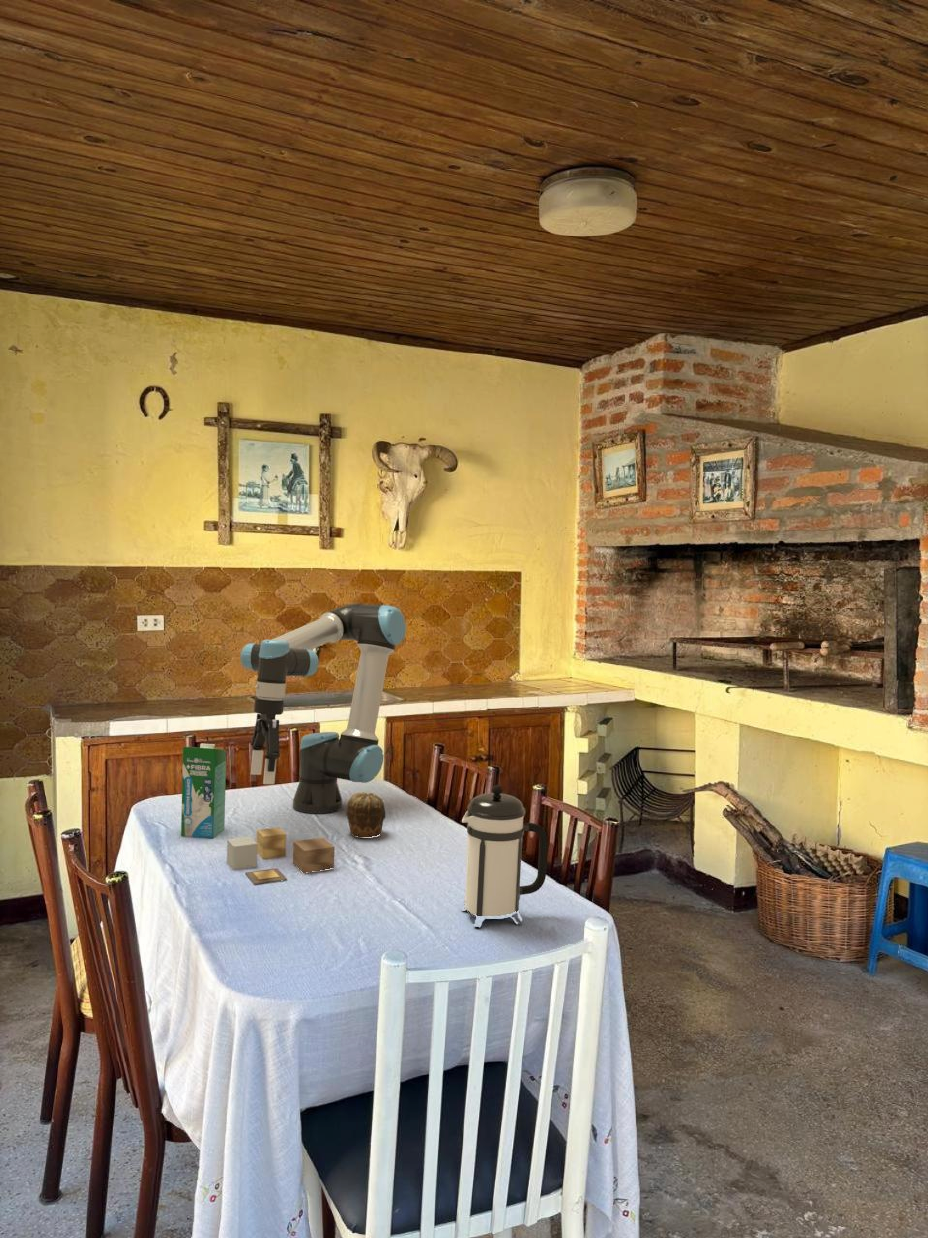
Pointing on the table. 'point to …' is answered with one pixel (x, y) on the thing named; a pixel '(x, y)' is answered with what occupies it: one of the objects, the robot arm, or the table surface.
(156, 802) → the table surface
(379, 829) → the shell
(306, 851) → the walnut block
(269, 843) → the maple cube
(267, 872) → the tile
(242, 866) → the beige cube
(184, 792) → the milk carton
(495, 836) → the coffee press
